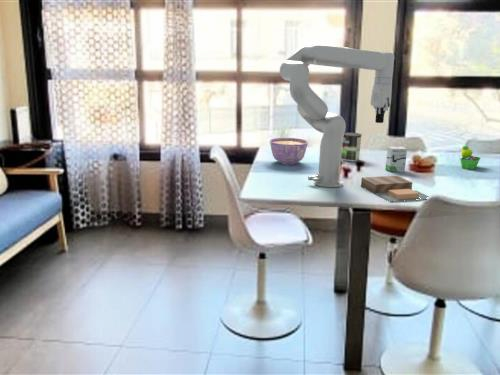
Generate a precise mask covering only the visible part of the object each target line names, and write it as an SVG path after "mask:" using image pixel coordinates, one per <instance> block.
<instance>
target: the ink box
mask: <svg viewBox="0 0 500 375" xmlns="http://www.w3.org/2000/svg"><path fill="white" fill-rule="evenodd" d="M386 153H387V154H386V160H385V162H386V163H385V169H386V170H385V169H384V170H385V171H387V170H388V171H387V172H390V171H394V172H405V170H406V164H407V163H406V162H407V154H408V148H406V147H404V146H388V147H387V152H386Z"/></svg>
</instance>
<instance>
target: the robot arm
mask: <svg viewBox="0 0 500 375" xmlns="http://www.w3.org/2000/svg"><path fill="white" fill-rule="evenodd" d="M394 62H395V54H394V53H392V52H387V51H386V52H384V51H383V52H380V51H374V50H366V49H365V50H364V49H357V48H351V47H346V46H339V45H337V46H336V45H329V44H322V43H306V44H305V45H302V46H301V47H300V48H299V49H297V50H296V51H295V52H294V53H293V54H292V55H290V56H289V57H288V58H287V59H285V60H284V61H283V62H282V63H281V64H280V67H279V74H280V77H281V78H282V79H283V80H285V81H287V82H289V94H290V97H291V98H292V100H293V101H294V102H295V103H296V104H297V105H296V107H297V109H296V110H297V112H298V114H299V115H300V117H301V118H302V119H303V120H305V121H306V122H307V123H308V125H310V126H311V127H312V128H313V129H314V130H316V131H317V132H319V133H322V138H321V140H320V145H319V157H318V158H319V162H318V164H319V165H318V173H317V172H316V174H314V175H307V179H308V181H313V182H314V185H316V186H318V187H321V188H330V189H331V188H333V189H334V188H340V187H342V186H344V182H343V181H342V180H340V178H341V165H342V160H341V154H342V142H343V136H344V133H346V127H347V126H346V125H347V124H346V121H345V119H344V118H343V116H341V115H340V114H337V113H333V112H329V107H328V105H327V103H326V102H325V101H324V100H323V99H322V98H321V97H320V96H319V95H318V94H317V93H316V92H315V91H314V90H313V89H312V88H311V87H310V84H309V83H310V82H309V80H310V68H309V66H310V65H314V66H323V67H324V66H325V67H330V68H331V67H334V68H343V69H363V70H373V71H374V83H373V86H372V89H371V96H370V105H371V107H373V109H374V110H375V123H377V124H383V123H384V119H385V114H386V112H388V111H389V108H390V107H391V104H392V103H391V102H392V84H393V83H392V82H393V73H394V64H395V63H394Z"/></svg>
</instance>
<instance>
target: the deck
mask: <svg viewBox="0 0 500 375" xmlns="http://www.w3.org/2000/svg"><path fill="white" fill-rule="evenodd" d="M360 183H361V184H360V187H362V188H363V189H365V190H367V191H368V192H371V193H372V194H373V195H374V194H375V193H385V192H388V190H396V189H411V190H412V188H413V181H410V180H408V179H406V178H404V177H401V176H400V175H387V176H386V175H385V176H381V175H380V176H366V177H364V176H363V177H361V181H360ZM375 195H376V194H375Z"/></svg>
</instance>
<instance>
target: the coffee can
mask: <svg viewBox="0 0 500 375" xmlns="http://www.w3.org/2000/svg"><path fill="white" fill-rule="evenodd" d="M361 142H362V133H358V132H346V131H345V133H344V136H343V142H342V154H341V161H346V162H357V161H356V160H359V161H360V155H361V154H360V153H361V152H360V151H361Z"/></svg>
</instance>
